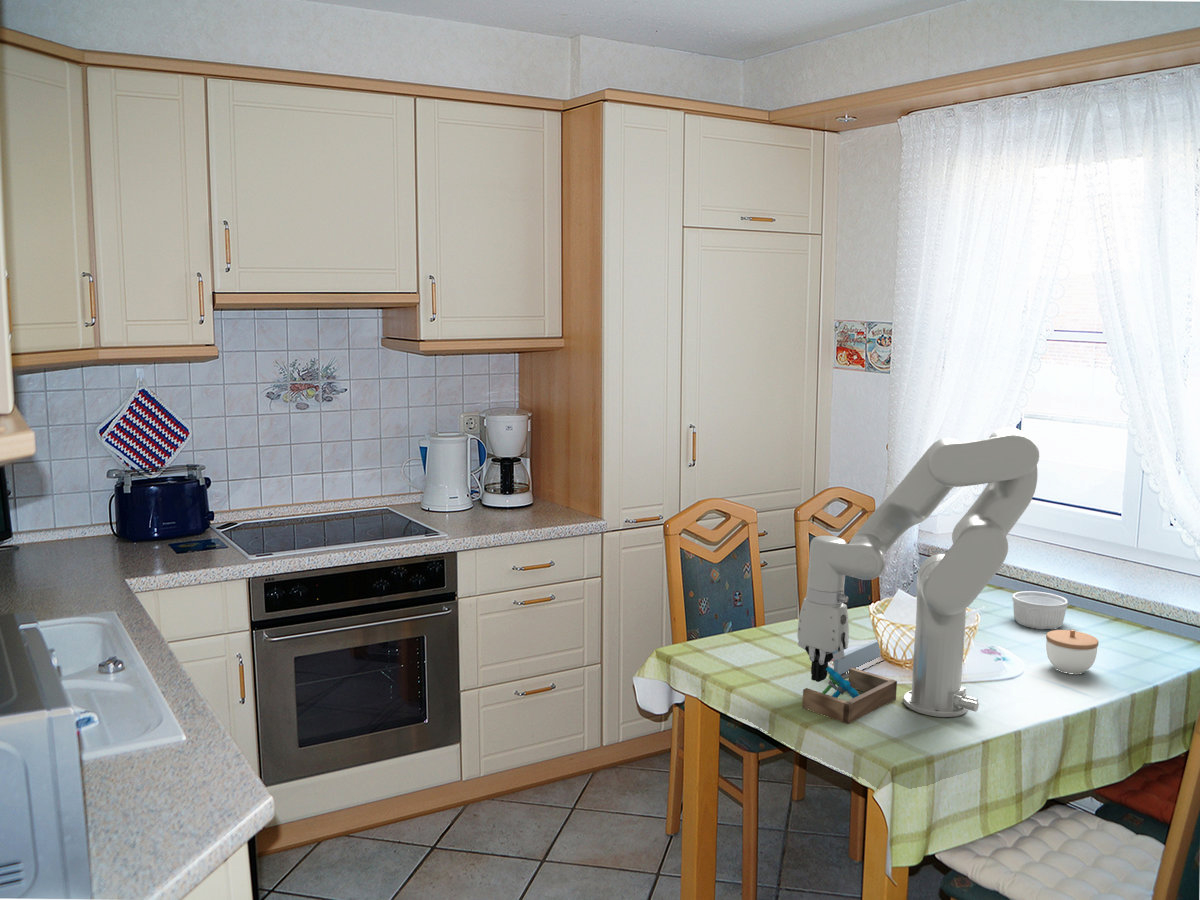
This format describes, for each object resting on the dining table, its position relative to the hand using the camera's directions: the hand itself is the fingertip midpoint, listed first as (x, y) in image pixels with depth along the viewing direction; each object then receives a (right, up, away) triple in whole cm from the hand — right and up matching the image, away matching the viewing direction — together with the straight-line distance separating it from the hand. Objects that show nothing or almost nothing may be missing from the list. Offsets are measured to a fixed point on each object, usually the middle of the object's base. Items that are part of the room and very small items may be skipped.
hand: (818, 679), depth 212 cm
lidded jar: (+61, -2, +16) cm, 63 cm away
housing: (+10, -3, +5) cm, 12 cm away
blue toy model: (+4, -4, -4) cm, 7 cm away
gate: (+12, -1, +16) cm, 20 cm away
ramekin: (+68, +3, +50) cm, 84 cm away
